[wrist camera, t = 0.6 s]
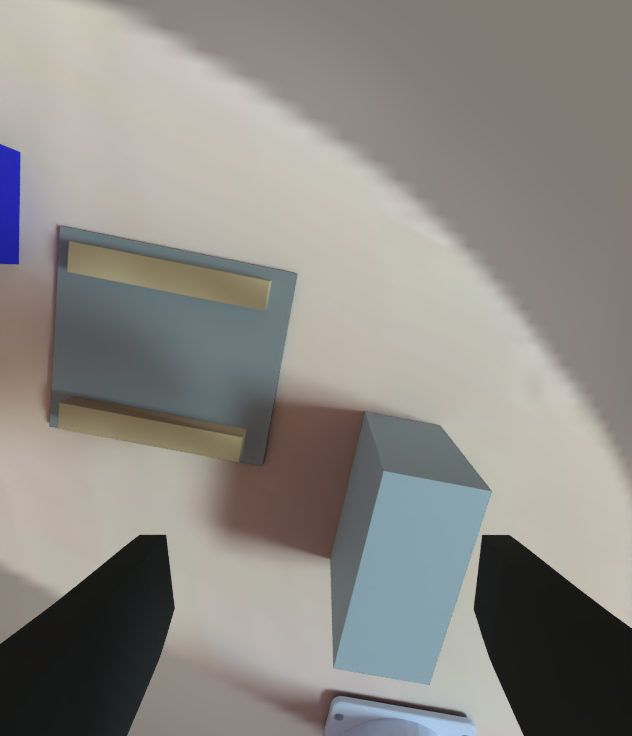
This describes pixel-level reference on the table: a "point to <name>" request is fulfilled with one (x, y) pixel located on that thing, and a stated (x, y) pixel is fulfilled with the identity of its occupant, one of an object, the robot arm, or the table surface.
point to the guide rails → (147, 423)
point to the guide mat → (170, 343)
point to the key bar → (402, 548)
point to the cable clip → (9, 205)
